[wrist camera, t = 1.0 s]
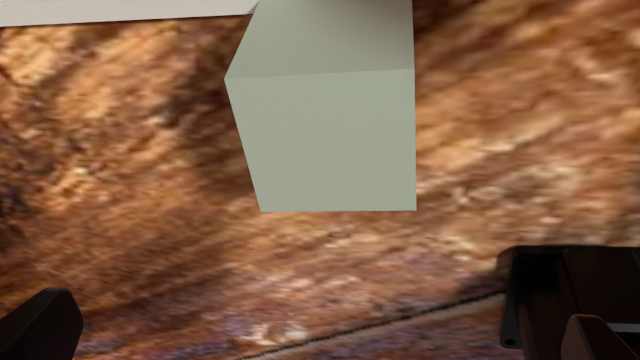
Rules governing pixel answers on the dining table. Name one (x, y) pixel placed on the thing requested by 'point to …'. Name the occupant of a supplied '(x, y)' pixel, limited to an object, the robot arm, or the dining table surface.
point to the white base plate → (114, 10)
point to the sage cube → (328, 104)
